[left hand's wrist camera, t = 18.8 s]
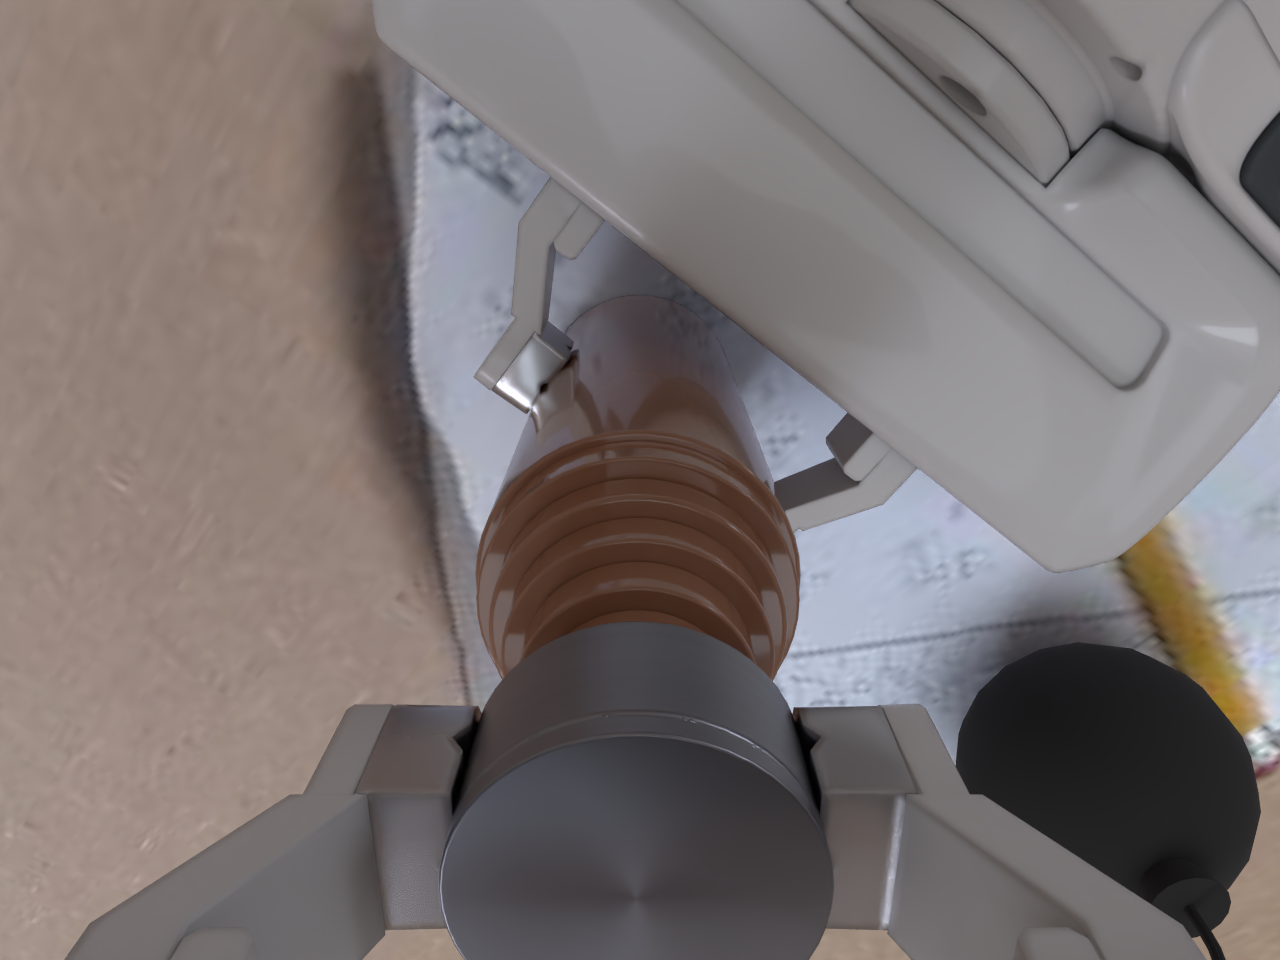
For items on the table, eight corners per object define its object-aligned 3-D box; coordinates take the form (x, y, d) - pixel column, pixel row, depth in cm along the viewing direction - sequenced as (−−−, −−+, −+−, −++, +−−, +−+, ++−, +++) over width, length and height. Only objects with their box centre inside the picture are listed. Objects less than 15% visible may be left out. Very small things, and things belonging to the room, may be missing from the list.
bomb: (1133, 561, 28) (1456, 840, 17) (1179, 752, 31) (1485, 1102, 20) (894, 644, 29) (1051, 958, 18) (959, 822, 32) (1131, 1191, 21)
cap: (474, 878, 11) (441, 1031, 9) (472, 609, 10) (432, 723, 8) (780, 892, 11) (808, 1046, 9) (819, 627, 10) (862, 743, 8)
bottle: (596, 261, 25) (499, 540, 8) (762, 345, 26) (1004, 763, 9) (519, 424, 27) (302, 945, 10) (678, 498, 28) (739, 1099, 10)
